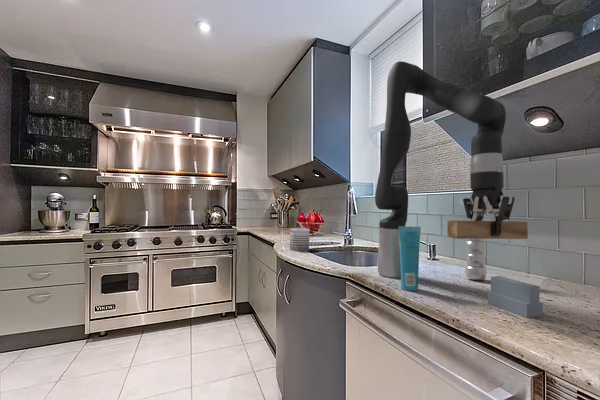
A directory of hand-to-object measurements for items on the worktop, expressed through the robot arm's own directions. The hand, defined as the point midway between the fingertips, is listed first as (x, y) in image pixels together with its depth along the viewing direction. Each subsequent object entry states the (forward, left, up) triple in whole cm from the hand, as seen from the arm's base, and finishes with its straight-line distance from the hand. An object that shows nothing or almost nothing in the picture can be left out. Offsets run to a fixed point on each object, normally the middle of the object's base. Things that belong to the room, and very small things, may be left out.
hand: (487, 235), depth 76 cm
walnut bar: (0, 0, -1) cm, 1 cm away
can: (-97, -25, -18) cm, 102 cm away
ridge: (+5, +3, -18) cm, 19 cm away
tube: (-16, -12, -18) cm, 27 cm away
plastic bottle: (-21, +19, -18) cm, 33 cm away
